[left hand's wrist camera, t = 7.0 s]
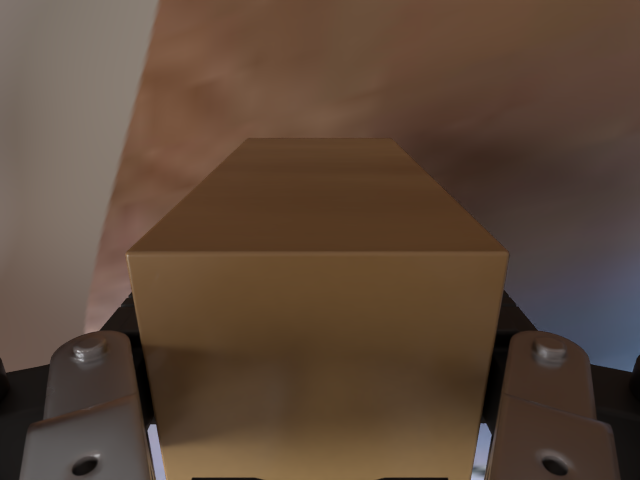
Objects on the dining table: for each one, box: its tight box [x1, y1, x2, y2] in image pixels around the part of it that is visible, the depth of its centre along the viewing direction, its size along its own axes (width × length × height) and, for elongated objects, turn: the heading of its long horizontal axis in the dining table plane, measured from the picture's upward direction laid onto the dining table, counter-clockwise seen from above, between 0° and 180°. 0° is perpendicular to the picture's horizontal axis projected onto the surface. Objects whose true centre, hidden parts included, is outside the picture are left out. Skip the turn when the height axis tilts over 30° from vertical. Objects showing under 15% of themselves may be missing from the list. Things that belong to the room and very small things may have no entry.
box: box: [126, 138, 510, 480], centre depth 16 cm, size 20×6×12 cm, turn 0°
